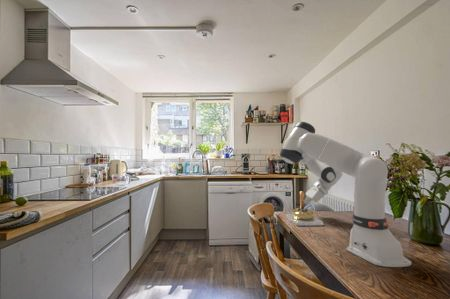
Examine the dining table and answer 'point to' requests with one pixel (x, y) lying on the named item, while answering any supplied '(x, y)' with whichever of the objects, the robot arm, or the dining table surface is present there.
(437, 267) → the dining table surface
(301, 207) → the ring nut
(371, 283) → the dining table surface
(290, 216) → the cap plate
